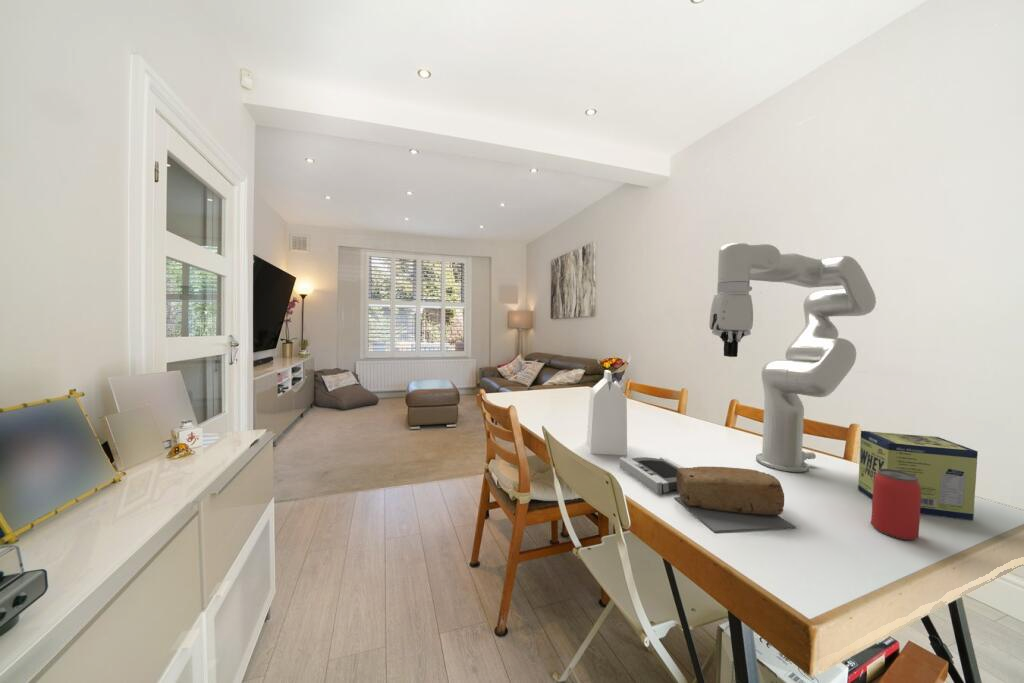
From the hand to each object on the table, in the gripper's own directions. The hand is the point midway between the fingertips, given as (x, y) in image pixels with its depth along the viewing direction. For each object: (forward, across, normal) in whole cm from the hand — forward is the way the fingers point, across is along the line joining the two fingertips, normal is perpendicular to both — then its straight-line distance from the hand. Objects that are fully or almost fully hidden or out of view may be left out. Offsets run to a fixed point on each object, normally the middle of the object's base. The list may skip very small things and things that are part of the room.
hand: (730, 356), depth 99 cm
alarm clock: (+34, +19, +1) cm, 39 cm away
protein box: (+33, -32, +20) cm, 50 cm away
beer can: (+33, -14, +30) cm, 47 cm away
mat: (+33, +14, +20) cm, 41 cm away
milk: (+33, +26, -23) cm, 48 cm away
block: (+29, +4, +20) cm, 35 cm away
